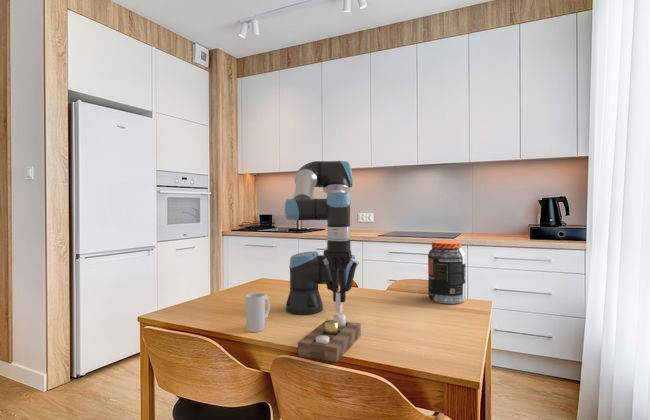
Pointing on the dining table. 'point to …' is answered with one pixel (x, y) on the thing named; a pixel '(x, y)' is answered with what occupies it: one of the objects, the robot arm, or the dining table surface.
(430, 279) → the supplement tub
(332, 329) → the plug brass
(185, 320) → the dining table surface
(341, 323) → the grey plug
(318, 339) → the grey plug
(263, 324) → the mug
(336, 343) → the socket block
